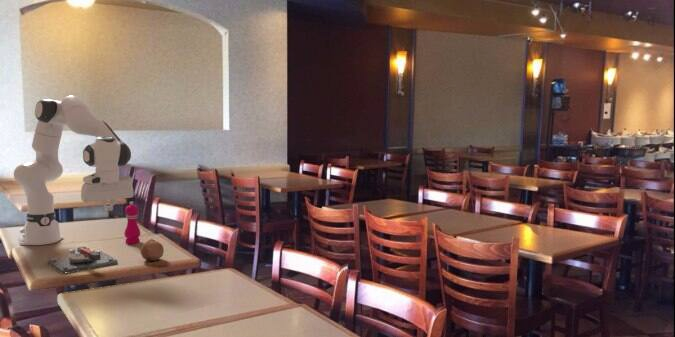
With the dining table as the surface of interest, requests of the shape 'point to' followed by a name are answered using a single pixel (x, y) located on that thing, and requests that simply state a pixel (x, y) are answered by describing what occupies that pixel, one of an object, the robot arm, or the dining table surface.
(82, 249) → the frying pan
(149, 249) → the onion
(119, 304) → the dining table surface
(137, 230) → the pepper mill
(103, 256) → the flange plate
